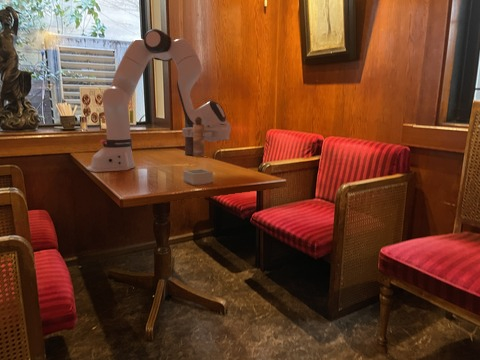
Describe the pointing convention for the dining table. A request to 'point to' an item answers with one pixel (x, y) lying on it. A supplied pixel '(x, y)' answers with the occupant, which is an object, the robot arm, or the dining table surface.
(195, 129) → the pepper mill
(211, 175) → the box
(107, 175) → the dining table surface
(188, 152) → the candle
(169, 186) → the dining table surface
